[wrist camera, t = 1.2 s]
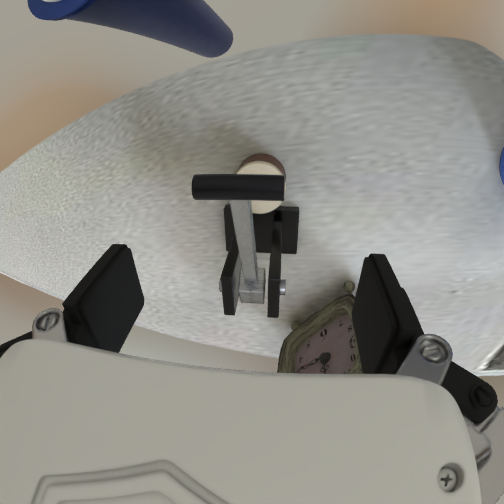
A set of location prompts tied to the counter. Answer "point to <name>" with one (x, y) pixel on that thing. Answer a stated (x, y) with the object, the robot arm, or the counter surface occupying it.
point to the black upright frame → (266, 241)
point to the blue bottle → (502, 166)
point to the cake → (262, 166)
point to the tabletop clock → (323, 341)
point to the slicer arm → (243, 219)
